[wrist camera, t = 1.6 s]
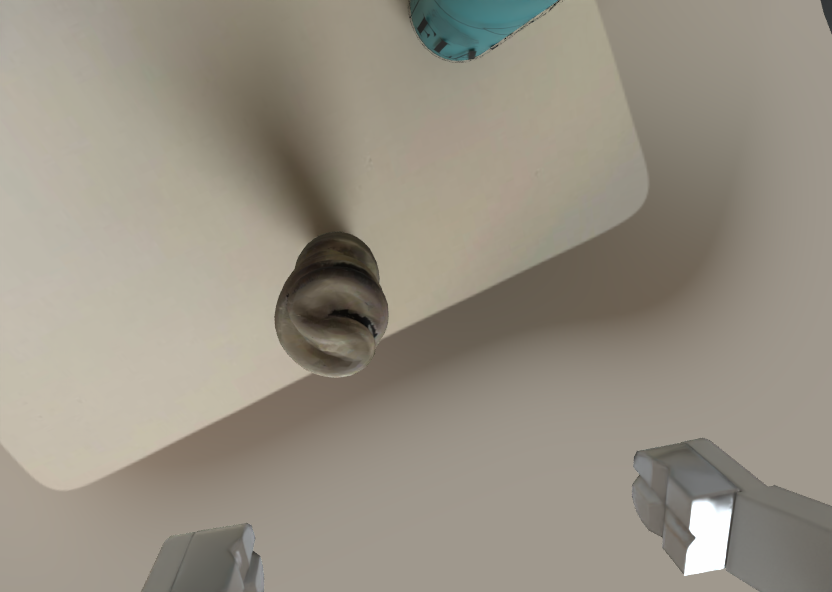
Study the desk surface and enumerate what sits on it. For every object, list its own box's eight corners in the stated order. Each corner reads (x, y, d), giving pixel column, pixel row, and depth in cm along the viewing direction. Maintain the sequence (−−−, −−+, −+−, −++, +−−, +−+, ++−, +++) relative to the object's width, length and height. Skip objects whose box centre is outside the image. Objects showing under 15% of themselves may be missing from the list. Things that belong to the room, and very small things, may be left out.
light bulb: (371, 295, 36) (385, 392, 22) (298, 290, 35) (265, 387, 21) (378, 222, 35) (398, 277, 21) (302, 215, 34) (268, 267, 20)
